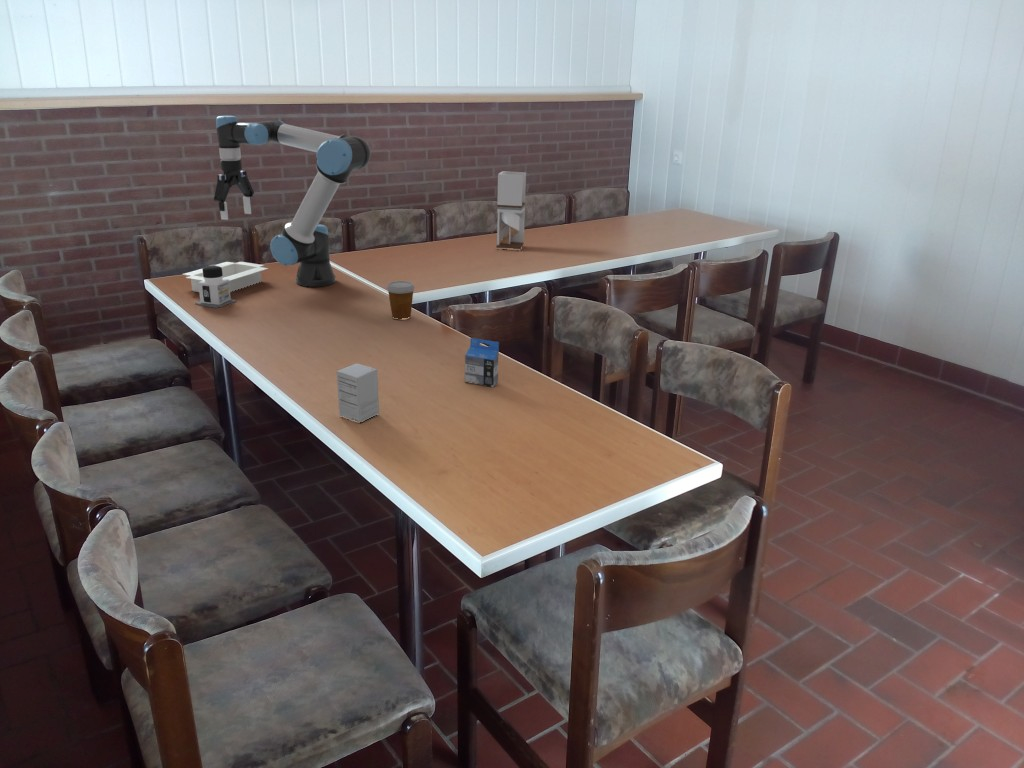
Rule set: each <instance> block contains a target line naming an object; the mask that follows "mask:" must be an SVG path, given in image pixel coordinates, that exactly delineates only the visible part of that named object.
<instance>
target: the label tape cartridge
mask: <svg viewBox="0 0 1024 768" xmlns="http://www.w3.org/2000/svg"><path fill="white" fill-rule="evenodd" d="M484 344H485V345H484ZM486 345H489V346H486ZM499 347H500V343H499V341H494V340H493V341H492V340H488V339H487V340H486V339H481V338H474V337H470V346H469V347H468V350H467V352H466V353H465V356H464V357H465V358H464V382H465V381H467V382H472V383H477V384H481V385H480V386H483V385H486V386H485V387H489V386H491V387H490V388H494V387H495V386H497V385H498V383H499V353H500V351H499V350H500V348H499ZM477 384H476V385H477Z"/></svg>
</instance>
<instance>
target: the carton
mask: <svg viewBox="0 0 1024 768" xmlns="http://www.w3.org/2000/svg"><path fill="white" fill-rule="evenodd" d="M215 265H218V266H221V267H222V274H223V278H222V279H229V286H230V293H233V292H236V291H238V289H239V290H241V288H242V289H245V288H247V286H248V287H251V286H254V285H257V284H259V282H260V283H262V282H263V281H262V272H263V271H267V270H269V267H268V268H267V267H265V265H264V264H258V263H252V262H245V261H238V262H233V261H231V262H230V261H225V262H224V261H223V262H221V263H217V264H215ZM182 276H186V277H185V279H187V280H189V279H190V283H191V284H190V285H191V291H192V292H195V293H199V285H198V283H199V282H201V281H203V280H205V279H204V278H203V267H202V268H200V269H196V270H193V271H189V272H185V273H182ZM256 283H257V284H256ZM253 284H254V285H253ZM250 285H251V286H250ZM244 287H245V288H244ZM235 290H236V291H235ZM232 291H233V292H232Z"/></svg>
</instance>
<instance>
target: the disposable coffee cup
mask: <svg viewBox="0 0 1024 768" xmlns="http://www.w3.org/2000/svg"><path fill="white" fill-rule="evenodd" d="M386 290H387V292H388V298H389V304H390V311H391V317H394V318H398V319H402V318H408V317H410V316H412V315H411V314H412V307H413V299H414V298H413V297H414V291H415V286H414V283H413V282H411V281H406V280H396V281H395V280H394V281H390V282H389V283H388V284H387V286H386Z"/></svg>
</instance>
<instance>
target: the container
mask: <svg viewBox="0 0 1024 768" xmlns="http://www.w3.org/2000/svg"><path fill="white" fill-rule="evenodd" d="M202 268H203V278H204V279H205V280H203V281H201V282H199V283H198V285H199V292H198V293H199V294H198V295H199V301H200V302H201V303H205V304H215V305H220V304H222V303H224V302H227V301H229V300H230V299H232V297H231V292H230V286H229V279H222V278H223V274H222V267H221V266H218V265H216V264H208V265H205V266H203V267H202Z"/></svg>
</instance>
